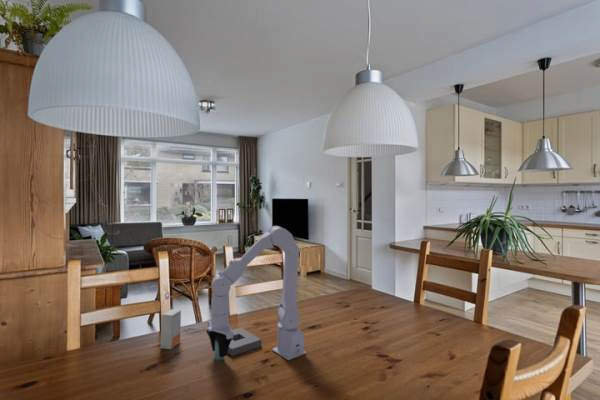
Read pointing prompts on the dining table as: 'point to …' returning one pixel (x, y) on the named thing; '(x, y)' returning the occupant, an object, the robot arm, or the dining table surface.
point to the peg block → (243, 342)
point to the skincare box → (170, 328)
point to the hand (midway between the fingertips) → (219, 353)
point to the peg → (217, 353)
